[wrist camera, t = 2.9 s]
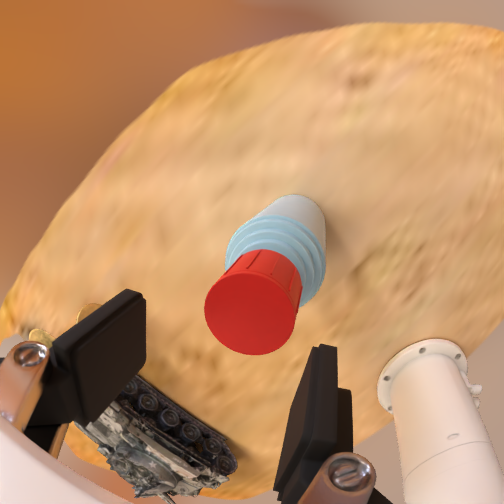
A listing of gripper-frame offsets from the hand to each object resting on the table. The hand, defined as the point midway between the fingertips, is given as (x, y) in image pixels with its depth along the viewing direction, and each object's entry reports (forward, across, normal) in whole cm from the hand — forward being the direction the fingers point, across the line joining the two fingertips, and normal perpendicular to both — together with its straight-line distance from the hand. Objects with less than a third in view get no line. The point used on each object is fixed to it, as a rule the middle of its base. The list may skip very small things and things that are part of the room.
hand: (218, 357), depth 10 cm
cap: (+7, 0, 0) cm, 7 cm away
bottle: (+23, 0, 0) cm, 23 cm away
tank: (+23, +14, +38) cm, 47 cm away
